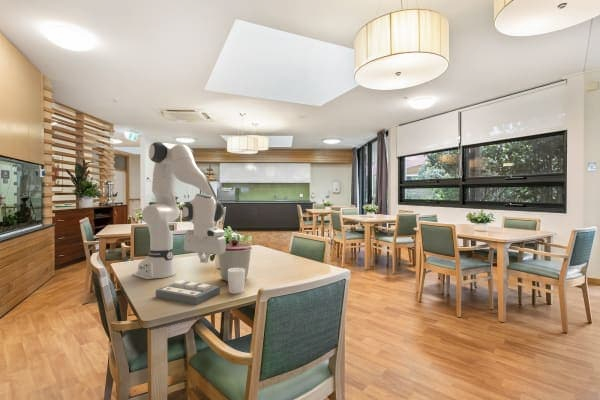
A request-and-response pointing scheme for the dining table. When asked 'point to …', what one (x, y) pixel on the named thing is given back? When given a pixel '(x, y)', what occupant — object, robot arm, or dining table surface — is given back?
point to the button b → (203, 287)
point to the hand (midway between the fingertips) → (204, 262)
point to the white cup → (236, 280)
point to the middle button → (191, 285)
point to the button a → (180, 283)
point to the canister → (234, 258)
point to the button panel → (187, 294)
